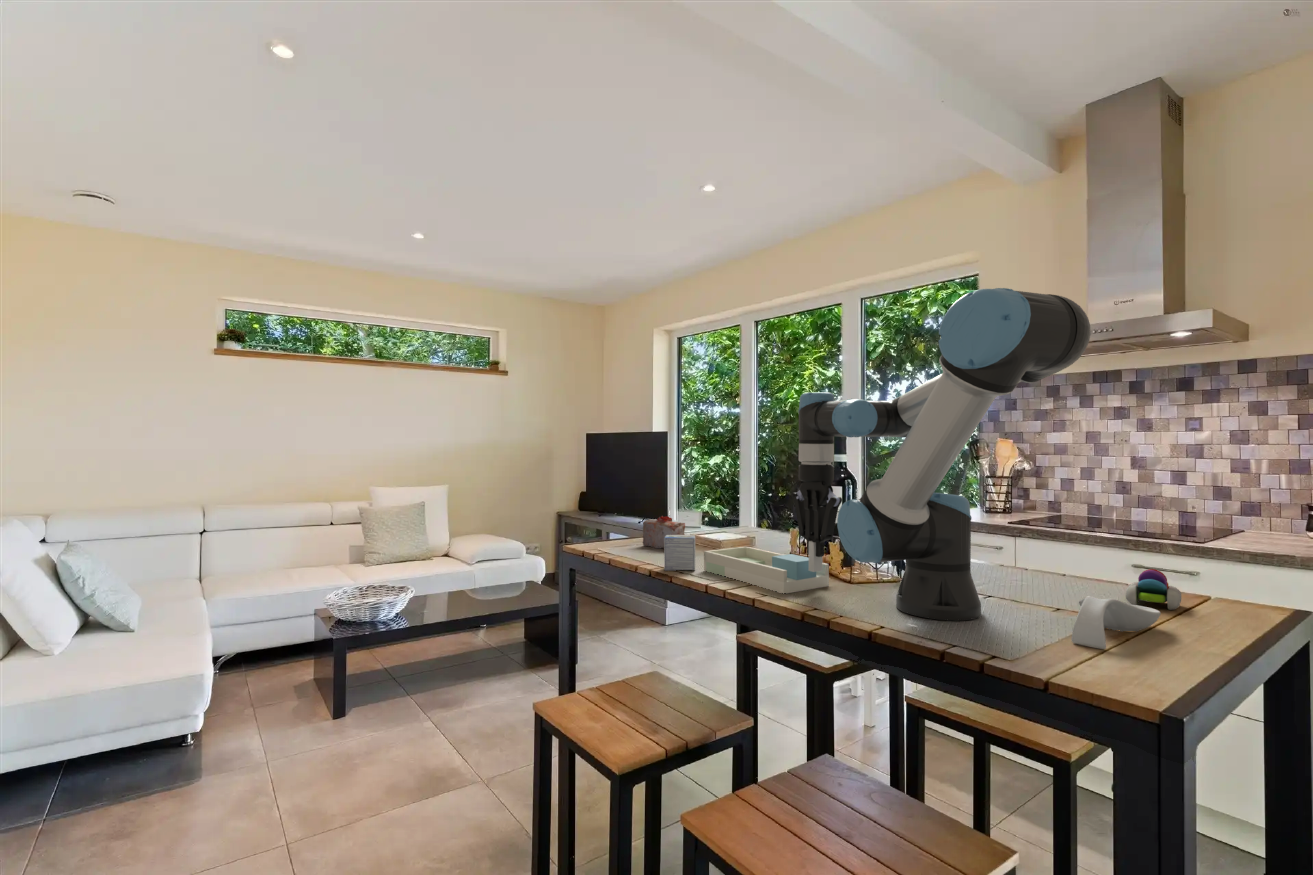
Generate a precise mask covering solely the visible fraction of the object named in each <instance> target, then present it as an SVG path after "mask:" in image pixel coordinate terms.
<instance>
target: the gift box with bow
mask: <svg viewBox="0 0 1313 875" xmlns="http://www.w3.org/2000/svg"><path fill="white" fill-rule="evenodd" d="M685 530H686V523H685V522H679V521H673V518H672V517H671V516H663V515H661V516H659V517H657V519H656V518H655V519H654V518H652V519H651V518H649V519H647V520H644V521H643V522H642V546H643V547H649V546H652V547H651V548H655V549H664V538H665V536H666V535H686V534H685Z"/></svg>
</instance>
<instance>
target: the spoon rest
mask: <svg viewBox="0 0 1313 875" xmlns="http://www.w3.org/2000/svg"><path fill="white" fill-rule="evenodd" d="M1078 604H1079V606H1080V608H1079V610H1078V613H1077V616H1076V619H1075V621H1074V624H1073V628H1072V633H1071V643H1073V644H1075V645H1079V646H1083V647H1089V648H1093V649H1100V650H1106V648H1107V643H1106V640H1107V639H1106V633H1105V629H1106V628H1108V629H1107V630H1110V629H1112V630H1111V631H1115V630H1120V631H1119V632H1123V631H1136V632H1139V630H1140V631H1141V630H1144V629H1147V628H1148V627H1150V626H1152V625H1153V624H1155V623H1156V622H1157V621H1158V619H1160V617H1161V611H1160V610H1158V609H1155V608H1152V607H1147V606H1143V605H1133V604H1131V603H1128V602H1124V601H1121V600H1119V599H1116V598H1105V599H1104V598H1103V599H1102V598H1097V597H1094V596H1092V595H1087V596H1086V597H1083V598H1082V599H1079V600H1078Z"/></svg>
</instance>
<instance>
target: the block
mask: <svg viewBox="0 0 1313 875" xmlns="http://www.w3.org/2000/svg"><path fill="white" fill-rule="evenodd" d="M772 567H775V568H779V569H783V570H787V578H790V579H794V580H802V579H808V578H814V577H816V572H811V571H809V556H808V557H807V556H802V555H797V554H794V553H793V554H792V553H790V554H789V553H788V554H784V555H780V556H772Z"/></svg>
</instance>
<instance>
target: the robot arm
mask: <svg viewBox="0 0 1313 875" xmlns="http://www.w3.org/2000/svg"><path fill="white" fill-rule="evenodd" d="M938 334H939V335H940V339H939V340H938V346H939V347H938V348H939V350H940V353H941V355H940V357H939V358H938V359H939V360H938V361H939V362H938V363H939V364H940V368H941V370H942V373H941V374H939V375H937V376H935V377H933V378H931V379H929V380H927V381H925V382H924V383H922V384H920V385H919V386H917V387H915V388H913V389H911V390H909V391H907V392H905V393H904V394H902V395H900V396H898V397H896V398H894V399H891V400H866V399H861V398H847V399H842V400H835V395H834V394H833V393H832V392H823V391H822V392H804V393H802V394H801V395H800V397H799V405H798V406H799V407H798V411H797V413H798V461H799V462H801V463H799V465H798V480H799V481H801V482H800V483H801V484H800V486H799V490H798V491H797V492H792V493H791V498H792V501H793V503H794V507H795V513H796V520H797V526H798V533H799V536H800V537H803V538H805V540H806V554H807V555H808V558H809V571H811V572H817V571H822V563H823V557H825V542H826V541H830V540H832V539H833V537H834V531H835V526H836V524H837V531H838V537H839V539H840V540H839V541H840V542H841V544H842V546H843V547H842V548H844V550H845V551H846V553H847V554H848V555H849V556H850V557H851V558H852V559H853V560H855V561H857V562H859V563H873V564H878V563H885V562H897V561H905V570H904V572H903V575H902V577H901V581H900V584H899V586H898V589H897V593H896V597H895V598H896V599H895V600H896V602H895V603H896V605H895V607H896V609H898V610H899V611H900V612H902V613H905V614H907V615H912V616H915V617H920V618H925V619H930V620H939V621H969V620H976V619H978V618H979V617H981V616H982V603H981V599H980V597H979V595H978V594H979V593H978V591H977V588H976V584H975V582H974V580H973V577H972V573H971V570H972V569H971V558H972V557H971V556H972V554H971V553H972V552H971V549H972V548H971V546H972V543H971V542H972V540H971V538H972V537H971V536H972V530H971V529H972V515H971V506H970V504H971V503H970V502H969V501H970V500H968V498H967V497H965V496H963V495H958V494H951V493H942V492H936V490H937V488H938V487H939V485H940V484H941V482H942V481H943V480H944V478H945V476H946V475H947V473H948V472H949V470H950V469H951V467H952V466H953V464H954V462H955V461H956V459H957V458H958V456H959V455H960V454H961V452H962V450H963V449H964V447H965V446H966V444H967V442H968V441H969V439H970V438H971V436H973V433H974V431H975V430H976V428H977V427H978V425H979V424H980V422H981V421H982V419H983V418H984V416H985V415H986V413H987V412H988V410H989V408H990V407H991V405H992V404H993V403H994V401H995V400H996V398H997V397H1001V396H1007V395H1009V394H1011V393H1013V391H1014V390H1015V389H1016V387H1017V386H1018V384H1019V383H1022V382H1023V383H1027V384H1034V383H1037V382H1038V381H1041V380H1043V379H1045V378H1048V377H1050V376H1053V375H1054V374H1057V373H1059V372H1061V371H1063V370H1065V369H1067V368H1069V367H1070V366H1072V365H1073V364H1074V363H1076V362H1077V361H1078V360H1079V359H1080V358H1081V357H1082V355H1083V354H1084V353H1085V352H1086V349H1087V347H1088V345H1089V343H1090V338H1091V334H1092V333H1091V323H1090V320H1089V317H1088V315H1087V313H1086V312H1085V311H1084V309H1083V308H1082V307H1081V306H1080V305H1079V304H1078V303H1077V302H1075V301H1074V300H1072V299H1070V298H1068V297H1065V296H1062V295H1059V294H1048V293H1047V294H1046V293H1037V292H1030V291H1029V292H1028V291H1021V290H1014V289H1012V288H1008V287H996V288H981V289H977V290H973V291H971V292H968V293H966V294H964V295H963V296H961V297H960V298H959V299H957V300H956V301H955V302H953V304H952V305H951V306H950V307H949V309H947V312H945V315H944V316H943V319H942V320H941V322H940V326H939V330H938ZM835 437H839V438H840V437H841V438H842V437H845V438H846V437H847V438H863V437H864V438H865V437H871V438H872V437H878V438H879V437H880V438H881V437H883V438H885V437H886V438H904V439H903V441H902V443H901V445H900V447H899V449H898V450H897V452H896V453H895V455H894V457H893V459H892V461H891V462H890V464H889V466H888V467H887V469H886V471H885V473H884V475H883V476H882V478H879V479H877V478H876V479H874V480H872V481H871V482H869V483H868V484H867V486H866V488H865V490H864V492H863V493H862V496H861V497H860V498H859V499H856V498H853V499H852V498H851V499H849V500H846V501H845V502H843V498H842V497H841V496H837V495H836V494H835V493H834V489H833V486H832V483H833V482H834V480H835V466H834V465H833V464H832V463H833V462H834V460H835V456H834V455H835ZM842 502H843V503H842ZM841 503H842V504H841ZM840 505H841V506H840ZM836 522H837V523H836Z"/></svg>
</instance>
